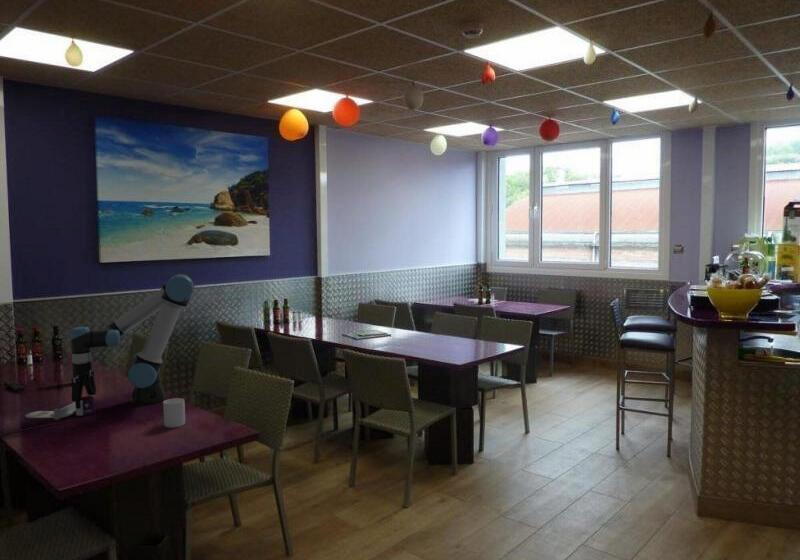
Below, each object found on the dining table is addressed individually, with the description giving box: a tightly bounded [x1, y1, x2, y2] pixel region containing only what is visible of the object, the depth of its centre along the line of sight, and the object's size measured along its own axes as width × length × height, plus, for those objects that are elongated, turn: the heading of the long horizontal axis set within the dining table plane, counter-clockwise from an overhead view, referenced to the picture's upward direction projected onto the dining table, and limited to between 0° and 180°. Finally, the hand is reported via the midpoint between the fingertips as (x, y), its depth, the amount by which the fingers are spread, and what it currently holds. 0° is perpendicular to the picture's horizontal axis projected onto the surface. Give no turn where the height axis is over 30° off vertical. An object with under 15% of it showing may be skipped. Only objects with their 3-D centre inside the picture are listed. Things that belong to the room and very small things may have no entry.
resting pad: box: [25, 410, 74, 419], centre depth 265 cm, size 20×9×1 cm, turn 87°
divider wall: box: [53, 401, 76, 421], centre depth 266 cm, size 2×18×4 cm, turn 178°
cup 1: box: [81, 395, 96, 416], centre depth 267 cm, size 7×10×7 cm
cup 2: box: [162, 397, 186, 429], centre depth 251 cm, size 8×12×10 cm
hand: (85, 412), depth 266 cm, fingers closed on cup 1, 8 cm apart
